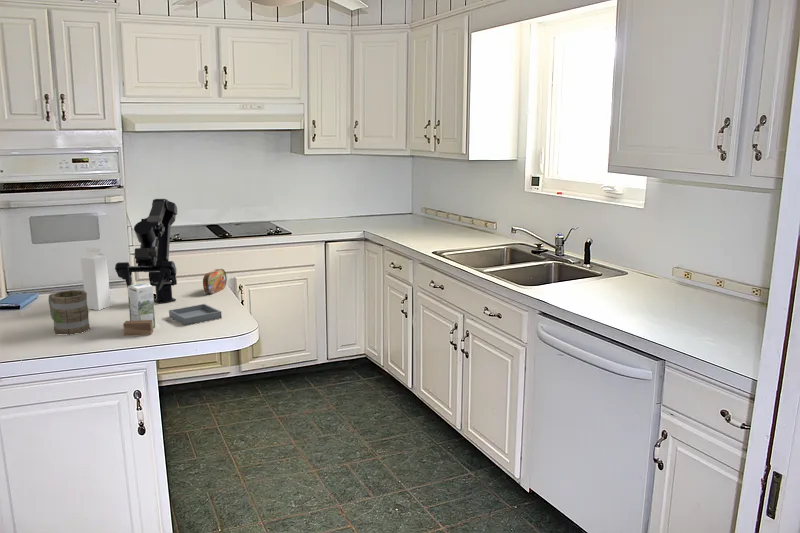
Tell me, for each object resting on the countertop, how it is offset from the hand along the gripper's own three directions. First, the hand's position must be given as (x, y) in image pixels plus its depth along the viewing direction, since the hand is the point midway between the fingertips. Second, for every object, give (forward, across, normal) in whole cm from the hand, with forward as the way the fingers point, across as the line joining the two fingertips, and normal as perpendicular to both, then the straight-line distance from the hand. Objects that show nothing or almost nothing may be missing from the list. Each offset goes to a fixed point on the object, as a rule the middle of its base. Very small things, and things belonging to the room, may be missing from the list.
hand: (143, 290), depth 223 cm
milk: (-8, -22, +25) cm, 34 cm away
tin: (-22, +17, +39) cm, 48 cm away
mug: (+10, -24, +7) cm, 27 cm away
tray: (+4, +15, +12) cm, 20 cm away
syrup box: (+11, 0, +5) cm, 12 cm away
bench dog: (+16, 0, +1) cm, 16 cm away
